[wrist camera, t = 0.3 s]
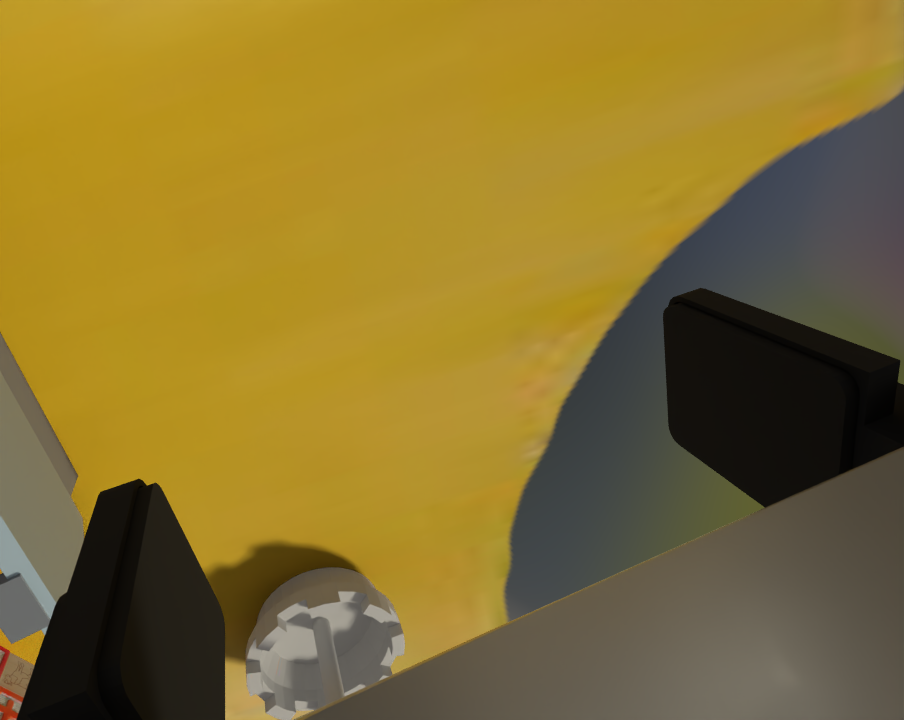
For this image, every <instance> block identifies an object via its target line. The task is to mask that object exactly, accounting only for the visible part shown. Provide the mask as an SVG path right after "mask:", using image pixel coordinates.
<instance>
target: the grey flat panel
mask: <svg viewBox="0 0 904 720" xmlns="http://www.w3.org/2000/svg"><path fill="white" fill-rule="evenodd" d="M83 541H84V532H83V518H82V516H81V515H80V513H79V511H78V509H77V507H76V506H75V504H74V502H73V500H72V498H71V497H70V495H69V493H68V491H67V490H66V488H65V486H64V484H63V482H62V481H61V479H60V477H59V475H58V473H57V472H56V470H55V468H54V466H53V465H52V463H51V461H50V459H49V457H48V456H47V454H46V452H45V450H44V448H43V447H42V445H41V443H40V441H39V440H38V438H37V436H36V434H35V432H34V431H33V429H32V427H31V425H30V423H29V422H28V420H27V418H26V416H25V415H24V413H23V411H22V409H21V407H20V406H19V404H18V402H17V400H16V398H15V397H14V395H13V393H12V391H11V390H10V388H9V386H8V384H7V382H6V381H5V379H4V377H3V375H2V373H1V372H0V569H1V570H2V572H3V573H2V574H0V628H1V630H2V631H3V632H4V634H5V635H6V637H7V638H8V639H9V641H10V642H11V644H12V643H14V642H16V641H18V640H21V639H23V638H25V637H27V636H29V635H31V634H33V633H35V632H37V631H39V630H42V632H43V633H44V635H45V634H46V631H47V628H48V625H49V622H50V619H51V616H52V613H53V610H54V607H55V605H56V603H57V601H58V599H59V597H60V596H62V595H63V594H65V593H67V590H68V587H69V584H70V581H71V578H72V575H73V572H74V569H75V566H76V563H77V560H78V557H79V554H80V550H81V547H82V544H83Z"/></svg>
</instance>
